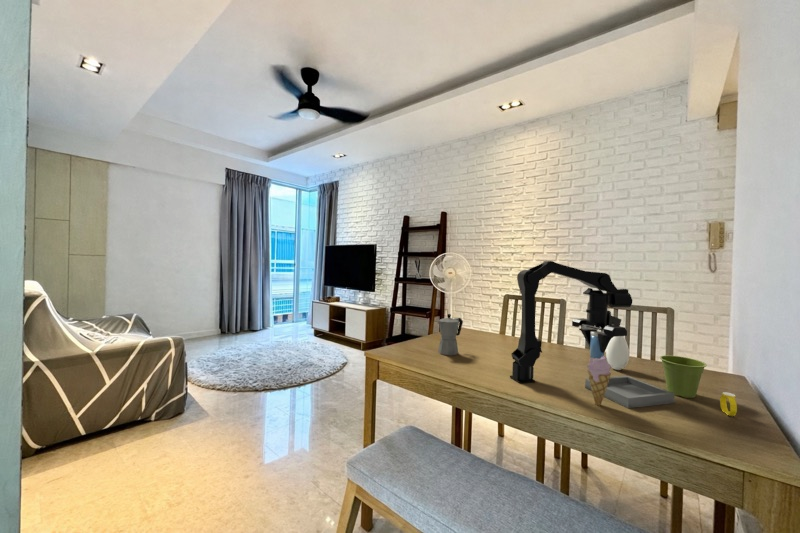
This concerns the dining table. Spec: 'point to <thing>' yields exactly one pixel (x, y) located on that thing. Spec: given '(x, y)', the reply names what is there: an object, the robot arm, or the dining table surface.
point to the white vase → (617, 352)
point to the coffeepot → (449, 335)
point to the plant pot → (682, 375)
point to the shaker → (595, 345)
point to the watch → (731, 400)
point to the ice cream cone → (599, 377)
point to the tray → (634, 392)
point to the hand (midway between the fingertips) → (597, 350)
